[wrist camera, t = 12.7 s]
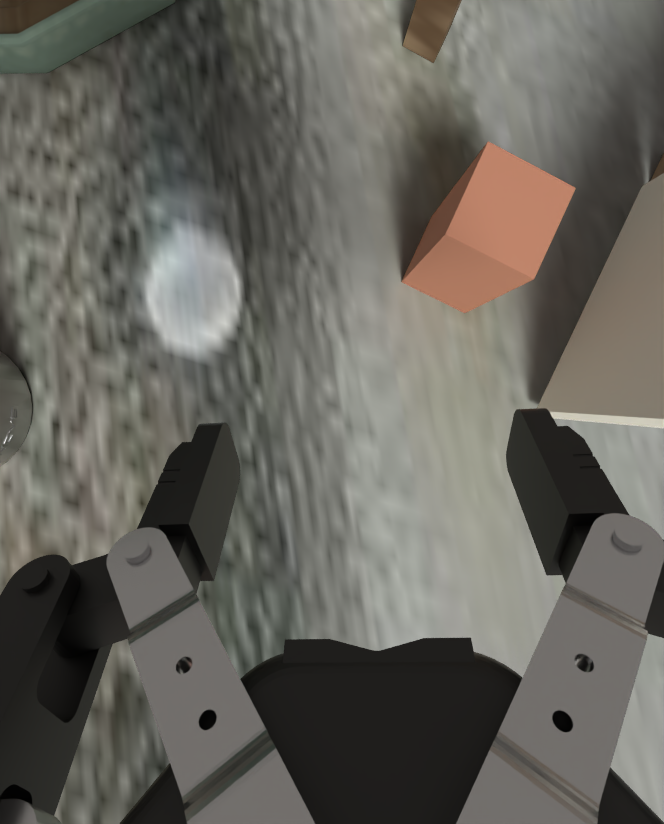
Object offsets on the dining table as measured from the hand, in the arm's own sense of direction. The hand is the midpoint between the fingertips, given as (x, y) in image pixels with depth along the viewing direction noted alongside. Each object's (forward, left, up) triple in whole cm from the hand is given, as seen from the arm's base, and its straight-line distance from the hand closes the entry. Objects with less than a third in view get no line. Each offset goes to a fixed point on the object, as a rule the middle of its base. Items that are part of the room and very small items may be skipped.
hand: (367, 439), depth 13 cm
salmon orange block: (+3, +13, -19) cm, 23 cm away
